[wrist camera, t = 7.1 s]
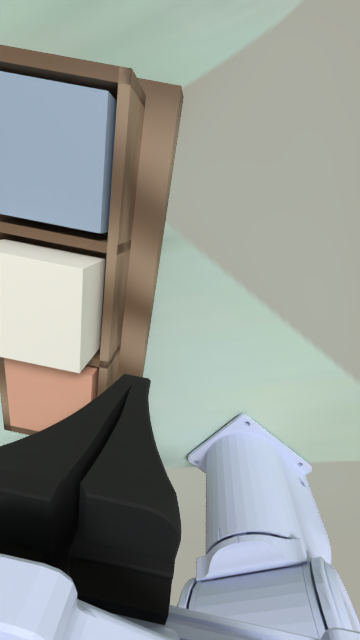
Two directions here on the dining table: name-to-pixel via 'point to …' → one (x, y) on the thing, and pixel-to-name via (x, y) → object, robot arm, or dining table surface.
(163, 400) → the dining table surface
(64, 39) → the dining table surface
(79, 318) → the cream key
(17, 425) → the terracotta key
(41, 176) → the slate blue key
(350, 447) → the dining table surface
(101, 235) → the wooden compartment tray
